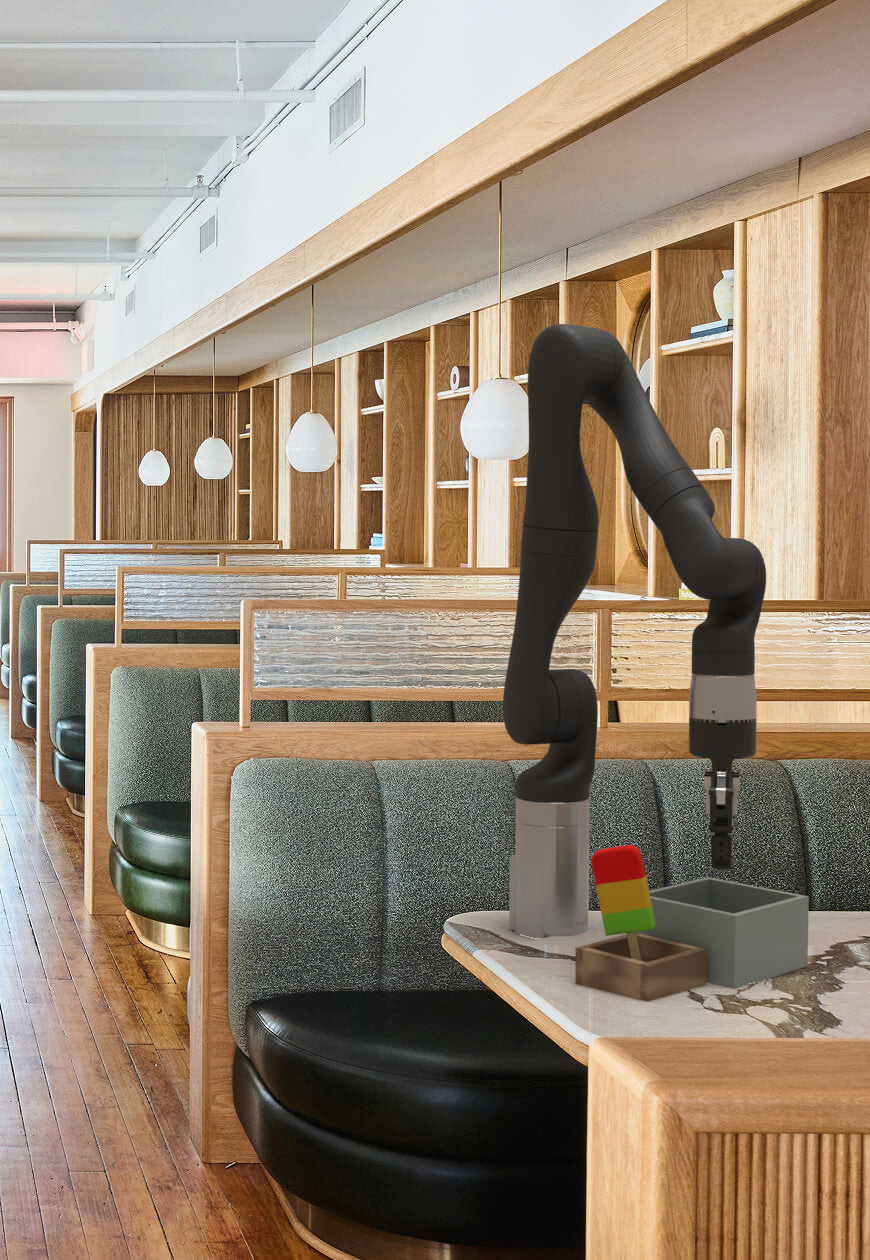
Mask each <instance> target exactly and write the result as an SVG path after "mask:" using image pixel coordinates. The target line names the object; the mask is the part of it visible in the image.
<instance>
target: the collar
mask: <svg viewBox="0 0 870 1260" xmlns="http://www.w3.org/2000/svg"><path fill="white" fill-rule="evenodd" d="M636 936H637V941H638V946H639V951H640V956H641V961H639V960H635V959H632V958H631V953H630V948H629V943H628V938H627V933H625V934H623V935H622V934H621V935H620V936H619V935H618V936H615V937H612V938H607V939H603V940H600V941H596V942H591V943H588V944H585V945H580V946H577V947H575V967H574V969H575V977H574V979H575V981H574V982H575V985H579V986H582V987H583V986H584V987H587V988H591V989H594V990H595V989H596V990H599V991H603V992H604V991H605V992H608V993H612V994H615V995H619V996H624V997H628V998H632V999H636V1000H641V1001H644V1002H648V1003H649V1002H651V1001H654V1000H658V999H659V1000H660V999H662V998H667V997H669V996H672V995H676V994H680V993H683V992H686V991H690V990H694V989H696V988H701V987H705V986H707V982H706V966H707V949H703V948H699V947H695V946H691V945H686V944H682V943H678V942H674V941H669V940H665V939H661V938H657V937H652V936H648V935H644V934H639V933H636Z"/></svg>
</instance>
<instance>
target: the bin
mask: <svg viewBox="0 0 870 1260" xmlns="http://www.w3.org/2000/svg"><path fill="white" fill-rule="evenodd" d="M649 893H650V898H651V903H652V908H653V913H654V918H655V923H656V926H655V928H654V929H653V930H647V931H639V932H636V933H639V934H644V935H648V936H652V937H657V938H661V939H665V940H669V941H674V942H678V943H682V944H686V945H691V946H695V947H699V948H703V949H707V966H706V984H707V983H708V984H711V985H712V984H713V985H716V986H717V985H718V986H721V987H727V988H731V989H734V990H736V989H738V987H739V988H741V986H742V987H744V986H743V985H746V984H749V983H752V984H754V983H753V982H756V983H758V982H757V981H759V982H761V981H760V980H763V981H765V980H764V979H766V980H768V979H767V978H770V979H772V978H771V977H773V978H775V976H776V977H778V976H782V975H784V974H787V973H791V972H795V971H797V970H800V969H802V968H803V969H804V968H807V967H808V961H809V960H808V959H809V957H808V956H809V955H808V954H809V908H810V907H809V904H810V901H809V900H810V899H809V897H810V896H808V895H803V894H798V893H793V892H787V891H783V890H777V889H772V888H766V887H760V886H756V885H750V884H745V883H740V882H734V881H730V880H724V879H719V878H714V877H702V878H698V879H694V880H690V881H689V880H688V881H685V882H681V883H677V884H673V885H669V886H664V887H661V888H656V889H652V890H651V889H650V890H649ZM749 985H750V984H749ZM746 986H747V985H746Z"/></svg>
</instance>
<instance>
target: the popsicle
mask: <svg viewBox="0 0 870 1260" xmlns="http://www.w3.org/2000/svg"><path fill="white" fill-rule="evenodd" d="M643 859H644V858H643V855H642V852H641V850H640V849H639V848H638V847H637V846H635V845H632V844H631V845H630V844H629V845H628V844H626V845H619V846H614V847H606V848H601V849H599V850H597V851H596V852H594V854H593V855H592V856H591V860H590V861H591V869H592V873H593V878H594V883H595V889H596V893H597V899H598V903H599V908H600V915H601V918H602V923H603V929H604V933H605V936H606V937H607V936H615V935H622V934H623V935H625V934H627V938H628V943H629V948H630V953H631V958H632V959H635V960H639V961H641V956H640V951H639V946H638V941H637V936H636V932H639V931H647V930H653V929H654V928H655V926H656V923H655V918H654V913H653V908H652V903H651V898H650V893H649V891H650V889H649V883H648V879H647V875H646V874H647V873H646V868H645V863H644V860H643Z"/></svg>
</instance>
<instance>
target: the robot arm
mask: <svg viewBox="0 0 870 1260" xmlns="http://www.w3.org/2000/svg"><path fill="white" fill-rule="evenodd" d="M527 366H528V368H527V403H528V404H527V406H528V407H527V408H528V409H527V410H528V413H527V414H528V415H527V416H528V455H527V469H526V472H527V473H526V485H525V486H526V489H525V506H524V511H523V512H524V513H523V520H522V531H521V541H520V542H521V544H520V545H521V546H520V558H519V559H520V562H519V579H518V589H517V590H518V592H517V601H516V602H517V603H516V611H515V612H516V613H515V619H514V620H515V622H514V626H513V627H514V628H513V635H512V641H511V646H510V652H509V657H508V663H507V668H506V674H505V680H504V687H503V688H504V689H503V696H502V714H503V715H502V716H503V722H504V726H505V730H506V733H507V734H508V736H509V737H510V739H511V740H512V741H513V742H515V743H516V744H519V745H523V746H524V745H525V746H528V745H531V746H532V745H534V746H535V745H549V746H548V750H547V752H546V753H545V755H544V757H542V758H541V760H540V761H538V762H537V763H536V764H533V765H532V766H530V767H529V768H526V769H525V770H524V771H522V772H520V773H519V774H518V776H517V777H516V781H515V854H511V856H510V857H509V886H508V888H509V892H508V893H509V897H508V898H509V899H508V901H509V903H508V905H509V906H508V907H509V909H508V912H509V913H508V914H509V915H508V917H509V919H508V920H509V922H508V929H509V928H510V929H514V930H515V931H516V932H517V933H519V934H522V935H525V936H529V937H533V938H541V939H545V938H549V937H569V936H575V935H580V934H584V933H585V932H587V931H588V930H589V910H590V909H589V903H590V795H591V793H590V792H591V791H590V790H591V789H590V788H591V784H592V781H593V778H594V774H595V770H596V769H595V768H596V753H597V752H596V751H597V747H596V746H597V735H598V719H599V718H598V717H599V712H598V711H599V709H598V699H597V698H598V696H597V692H596V689H595V686H594V684H593V681H592V680H591V678H590V676H589V675H588V674H587V673H586V672H584V671H582V670H580V669H576V668H575V669H573V668H572V669H571V668H570V669H567V668H564V669H563V668H561V669H550V667H551V659H552V658H551V657H552V652H553V649H554V644H555V641H556V637H557V635H558V632H559V630H560V628H561V626H562V624H563V622H564V621H565V619H566V618H567V615H569V613H570V611H571V610H572V608H573V607H574V605H575V604H576V602H577V601H578V599H579V598H580V596H581V594H582V593H583V591H584V590H585V588H586V586H587V584H588V583H589V581H590V578H591V576H592V574H593V572H594V570H595V566H596V560H597V559H596V558H597V549H598V548H597V546H598V537H599V536H598V534H599V523H600V521H599V509H598V503H597V500H596V497H595V494H594V493H595V492H594V490H593V486H592V484H591V481H590V478H589V475H588V471H587V470H586V468H585V467H586V466H585V463H584V460H583V455H582V451H581V440H580V439H581V425H582V424H581V421H582V410H583V405H588V406H589V407H590V408H591V409H593V411H595V412H596V413H597V415H599V417H600V418H601V420H603V422H604V423H606V425H607V426H608V428H609V429H610V430H611V432H612V433H613V436H614V437H615V439H616V441H617V444H618V448H619V450H620V451H619V452H620V454H621V455H620V456H621V461H622V465H623V468H624V469H623V470H624V474H625V476H626V479H627V482H628V485H629V486H630V489H631V492H632V493H633V494H634V496H635V498H636V499H637V501H638V503H639V504H640V506H641V507H642V508H643V510H644V511H645V512H646V514H647V515H648V517H649V518H650V520H651V521H652V523H653V524H654V526H655V527H656V528H657V530H658V531H659V532H660V534H661V536H662V540H663V543H664V546H665V548H666V551H667V553H668V556H669V559H670V561H671V563H672V566H673V568H674V571H675V573H676V574H677V576H678V578H679V579H680V581H681V582H682V584H683V585H684V586H685V587H686V588H687V589H688V590H689V591H690V592H691V593H692V594H693V595H695V596H697V597H699V598H701V599H703V600H707V601H709V603H708V608H707V616H706V618H705V620H704V621H703V622H701V623H699V624H698V625H697V626H696V627H695V628H694V629H693V633H692V636H691V637H692V639H691V675H690V677H691V679H690V684H689V685H690V686H689V691H688V693H689V694H688V753H689V754H690V755H691V756H693V757H696V758H701V759H708V760H710V762H711V770H705V771H704V773H703V778H704V779H703V787H704V790H706V791H705V795H706V796H705V811H706V814H707V815H709V825H708V832H709V835H710V836H711V837H710V838H711V842H710V843H711V844H710V845H711V847H710V848H711V851H710V853H711V856H710V857H711V858H710V859H711V860H710V862H711V863H710V866H711V868H712V869H714V870H728V871H729V870H730V869H731V868H732V859H733V858H732V857H733V856H732V855H733V849H732V848H733V847H732V846H733V845H732V844H733V843H732V842H733V834H734V830H735V829H734V828H735V823H734V820H735V816H736V815H737V813H738V791H739V789H740V784H741V783H740V782H741V772H740V771H734V770H733V769H734V768H733V765H734V761H735V760H737V759H738V760H742V759H745V760H746V759H749V758H754V756H756V754H757V721H758V720H757V710H758V709H757V706H758V705H757V700H758V698H757V687H756V680H755V679H756V678H755V676H756V675H755V671H756V670H755V669H756V668H755V667H756V666H755V665H756V663H755V662H756V658H755V657H756V652H755V651H756V648H755V637H756V636H755V635H756V632H757V629H758V626H759V623H760V617H761V612H762V609H763V603H764V599H765V593H766V587H767V568H766V563H765V559H764V557H763V554H762V552H761V551H760V549H759V548H758V547H757V546H756V544H754V543H753V542H751V541H750V540H748V539H745V538H738V537H724V536H723V535H722V534H721V533H720V532H719V530H718V529H717V527H716V525H715V523H714V521H713V520H712V519H713V518H714V515H715V512H716V511H715V510H716V509H715V503H714V501H713V498H712V497H711V495H710V494H709V492H708V490H707V489H706V488H705V486H704V485H703V484H702V483H701V480H700V479H699V478H698V477H697V475H696V474H695V472H694V471H693V470H692V468H691V467H690V466H689V464H688V462H687V461H686V460H685V458H683V456H682V454H681V453H680V452H679V450H678V448H677V447H676V446H675V444H674V442H673V441H672V439H671V438H670V435H669V434H668V433H667V431H666V429H665V428H664V426H663V424H662V422H661V420H660V419H659V416H658V415H657V413H656V411H655V409H654V407H653V405H652V403H651V400H650V399H649V397H648V395H647V393H646V391H645V389H644V387H643V386H642V384H641V381H640V379H639V377H638V375H637V372H636V370H635V368H634V366H633V364H632V361H631V359H630V358H629V356H628V354H627V352H626V351H625V349H624V347H623V346H622V343H620V341H619V340H618V338H616V337H615V336H614V335H613V334H612V333H611V332H609V331H607V330H604V329H602V328H599V327H598V328H597V327H592V326H591V327H589V326H584V325H575V324H565V323H556V324H551V325H549V326H548V327H547V326H546V327H545V329H543V330H542V331H541V332H540V333H539V334H538V336H537V337H536V338H535V340H534V342H533V345H532V347H531V351H530V354H529V359H528V365H527ZM515 931H514V932H515ZM541 939H540V940H541Z"/></svg>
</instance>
